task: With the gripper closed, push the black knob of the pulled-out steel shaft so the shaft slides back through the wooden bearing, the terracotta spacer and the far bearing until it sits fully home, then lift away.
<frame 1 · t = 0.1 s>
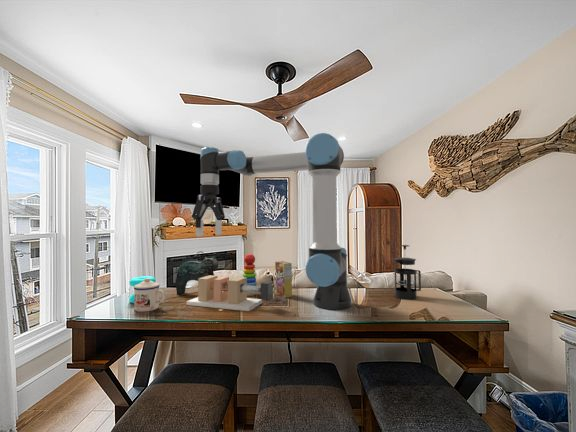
hand: (209, 235, 123), 28 cm above the table, tool pointing down, fingers open, 13 cm apart
teacup with lid: (150, 309, 114), on the table
shaft: (245, 288, 117), point 7 cm above the table, slide at 9.0 cm
candy box: (283, 295, 134), on the table
dark teal curved piece: (196, 294, 138), on the table
french press: (406, 297, 130), on the table
donuts: (142, 301, 126), on the table
shaft bracket: (224, 303, 120), on the table
stacking toy: (249, 294, 137), on the table
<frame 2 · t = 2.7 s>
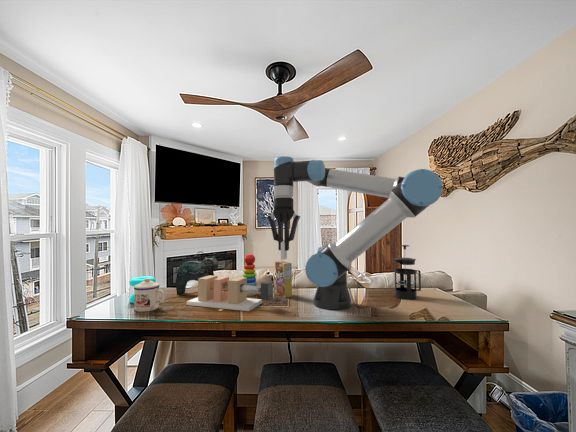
hand: (283, 259, 112), 19 cm above the table, tool pointing down, fingers closed
nothing on the table moved.
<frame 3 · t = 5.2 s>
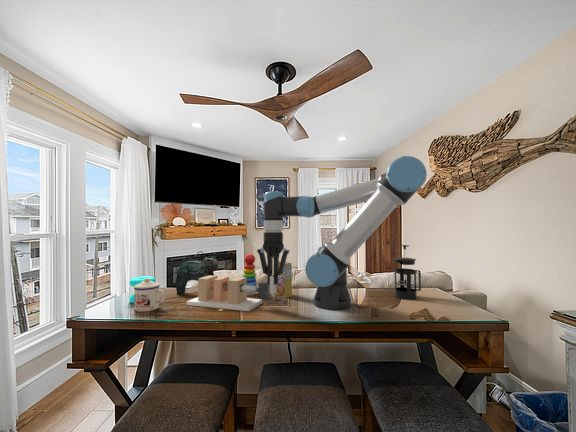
hand: (272, 292, 114), 6 cm above the table, tool pointing down, fingers closed
shaft: (243, 288, 118), point 7 cm above the table, slide at 8.1 cm, touching gripper
everything else where it was.
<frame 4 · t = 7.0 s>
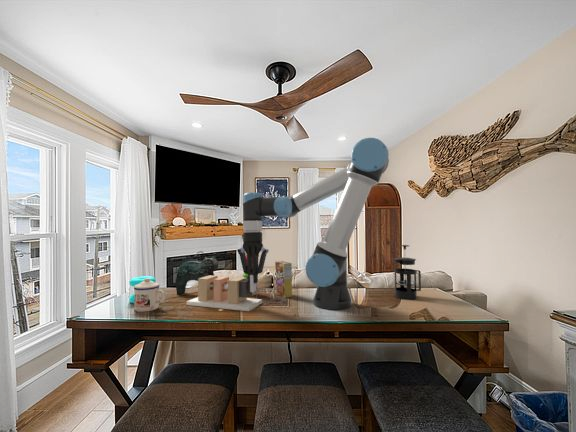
hand: (253, 291, 116), 6 cm above the table, tool pointing down, fingers closed
shaft: (225, 286, 120), point 7 cm above the table, slide at -0.2 cm, touching gripper
everything else where it was.
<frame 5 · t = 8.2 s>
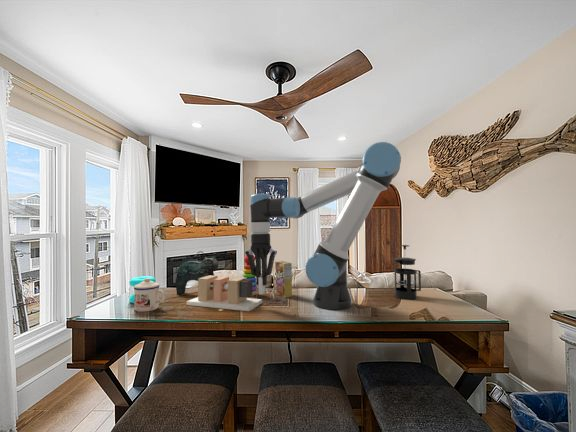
hand: (262, 293, 115), 5 cm above the table, tool pointing down, fingers closed
shaft: (226, 286, 120), point 7 cm above the table, slide at 0.0 cm
everything else where it was.
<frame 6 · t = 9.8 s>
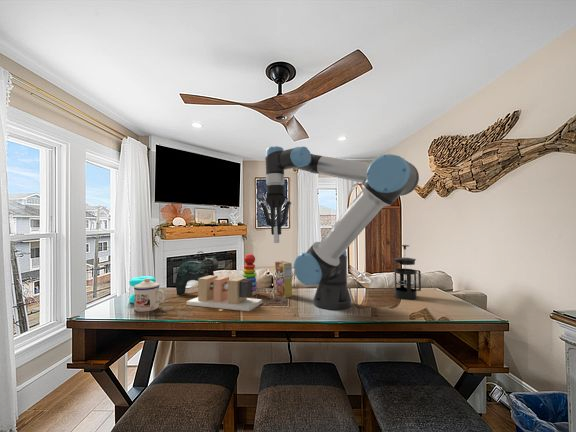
hand: (276, 242, 120), 25 cm above the table, tool pointing down, fingers closed
nothing on the table moved.
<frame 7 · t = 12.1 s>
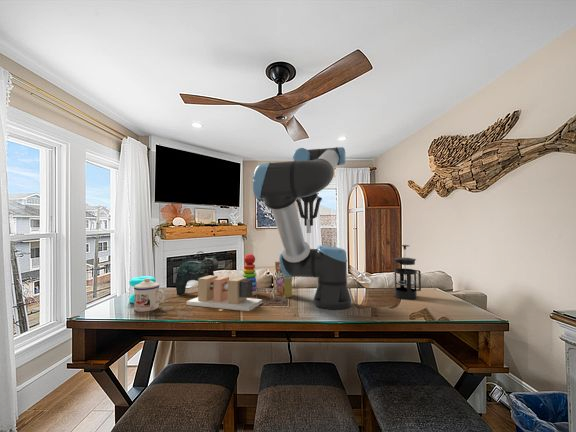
hand: (308, 232, 139), 28 cm above the table, tool pointing down, fingers closed
nothing on the table moved.
at the end: shaft slide at 0.0 cm; stacking toy moved 0.2 cm from its start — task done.
